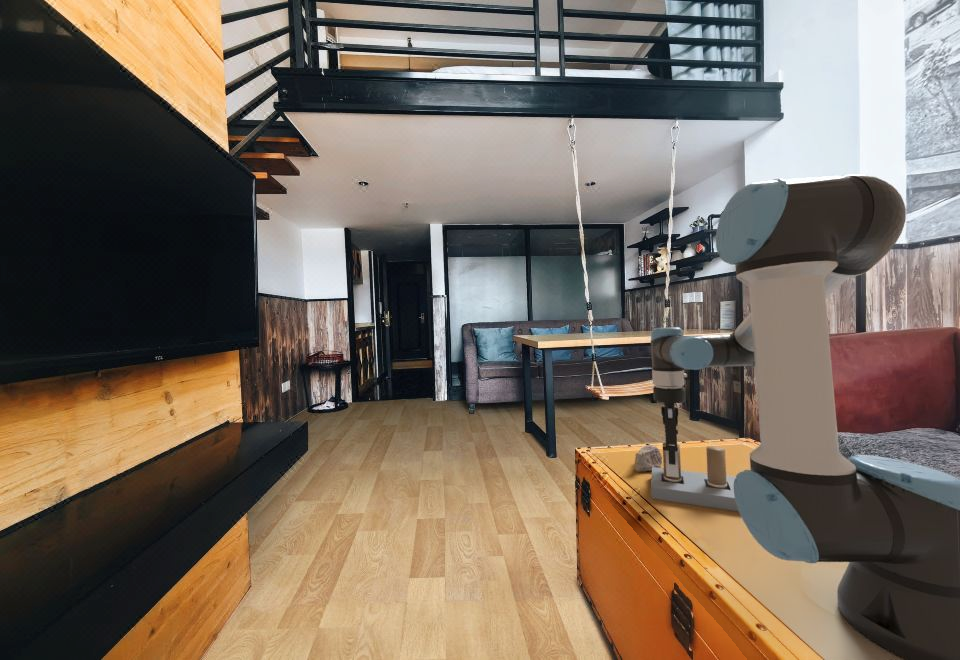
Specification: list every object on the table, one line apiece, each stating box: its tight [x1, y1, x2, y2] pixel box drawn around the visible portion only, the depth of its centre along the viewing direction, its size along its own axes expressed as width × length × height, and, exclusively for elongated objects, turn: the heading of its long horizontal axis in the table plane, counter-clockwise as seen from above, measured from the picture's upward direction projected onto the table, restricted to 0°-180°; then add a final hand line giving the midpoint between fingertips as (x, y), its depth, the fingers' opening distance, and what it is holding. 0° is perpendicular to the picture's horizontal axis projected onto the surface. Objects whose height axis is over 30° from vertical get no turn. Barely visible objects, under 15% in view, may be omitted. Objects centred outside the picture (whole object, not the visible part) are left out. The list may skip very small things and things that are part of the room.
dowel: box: [662, 442, 682, 484], centre depth 98 cm, size 4×4×12 cm
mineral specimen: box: [633, 444, 663, 473], centre depth 114 cm, size 13×7×6 cm, turn 146°
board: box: [650, 445, 739, 512], centre depth 96 cm, size 14×20×12 cm
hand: (671, 466), depth 98 cm, fingers open, 13 cm apart
